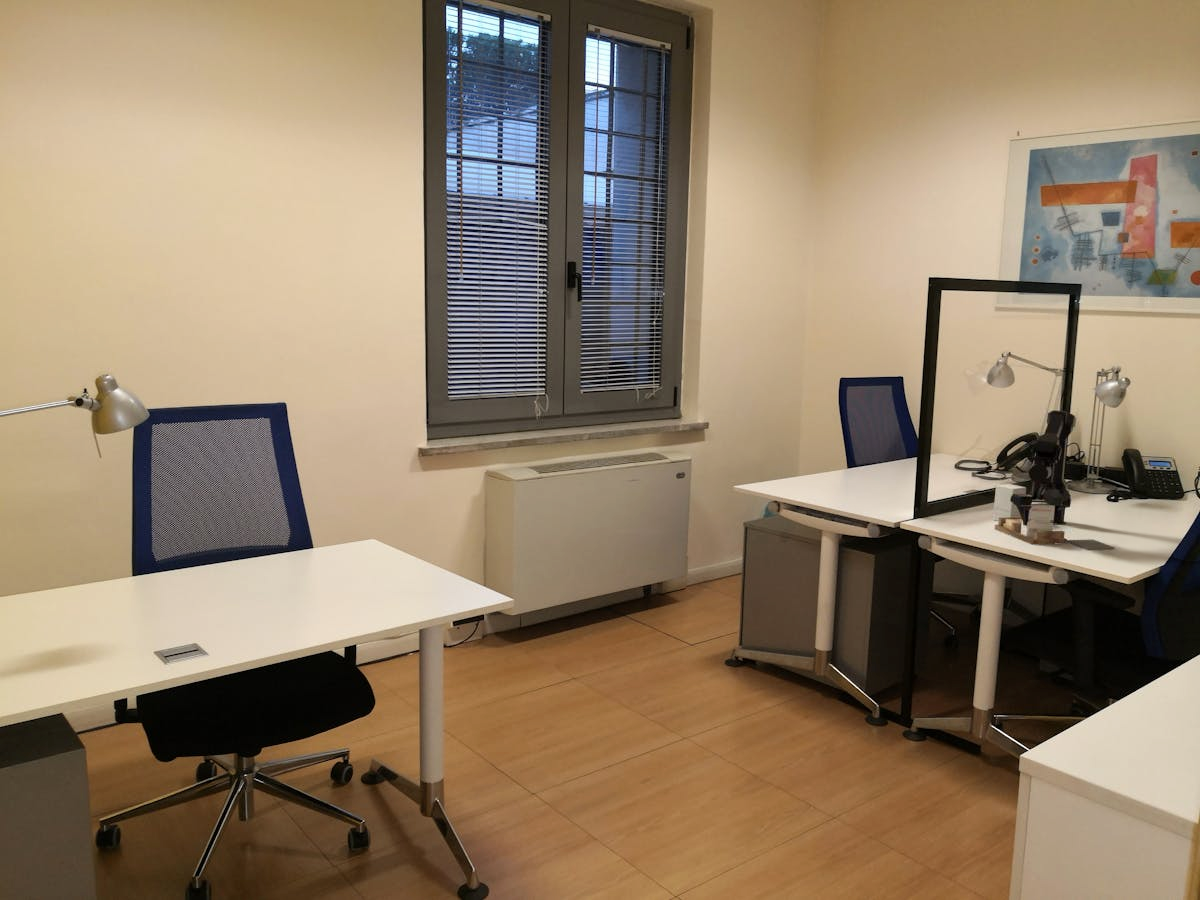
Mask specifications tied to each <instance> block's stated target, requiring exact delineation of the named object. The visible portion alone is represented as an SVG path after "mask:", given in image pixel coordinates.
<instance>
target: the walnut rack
mask: <svg viewBox="0 0 1200 900" xmlns="http://www.w3.org/2000/svg"><path fill="white" fill-rule="evenodd" d="M997 522H998V523H997V524H994V530H995V531H999V532H1000V533H1003V532H1004V533H1003V534H1006V535H1007V536H1010V535H1011V537H1014V538H1015V539H1018V540H1020V541H1023V542H1026V543H1028V544H1030V545H1032V544H1039V545H1056V544H1055V543H1058V544H1057V545H1060V544H1059V543H1068V542H1067V540H1068V539H1067V538H1066V537H1065V531H1063V530H1053V531H1035V536H1034V539H1033V538H1030V537H1028V536H1025V535H1023V534H1021V525H1022V518H1021V517H1000V518H999V521H997Z"/></svg>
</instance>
